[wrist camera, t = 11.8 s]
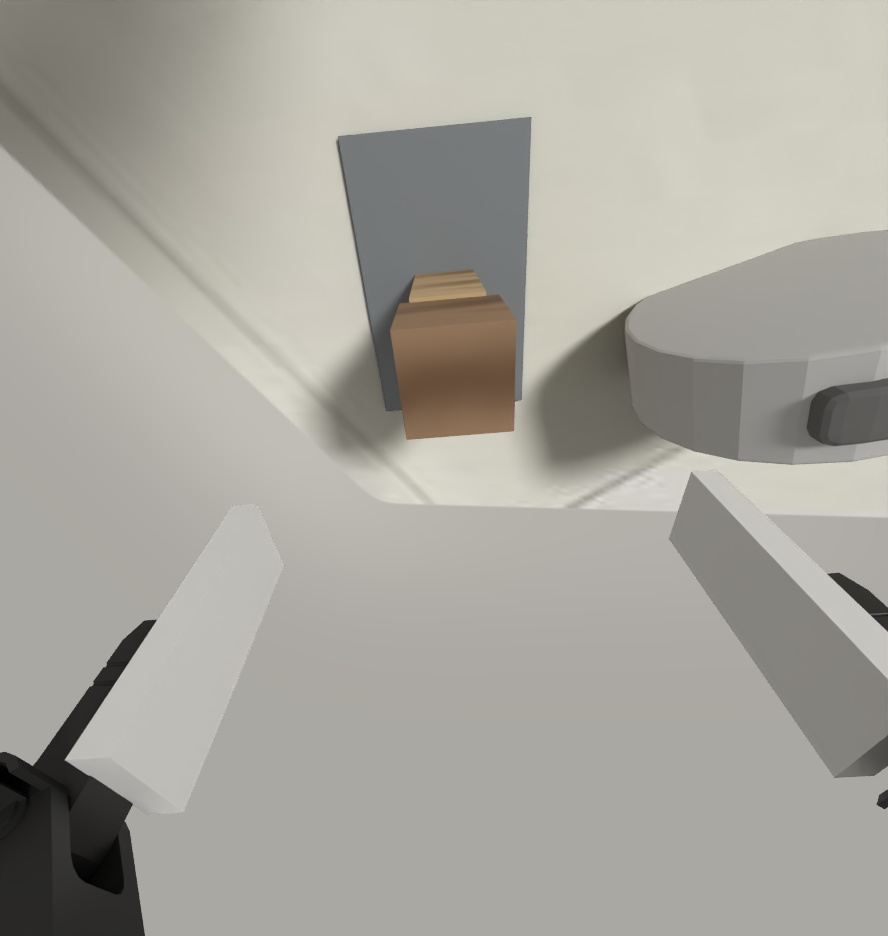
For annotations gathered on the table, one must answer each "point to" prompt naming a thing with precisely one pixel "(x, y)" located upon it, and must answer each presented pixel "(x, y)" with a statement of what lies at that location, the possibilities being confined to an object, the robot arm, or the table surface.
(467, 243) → the slate mat
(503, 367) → the walnut cube
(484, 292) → the oak block upper
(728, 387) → the alarm clock
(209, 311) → the table surface
